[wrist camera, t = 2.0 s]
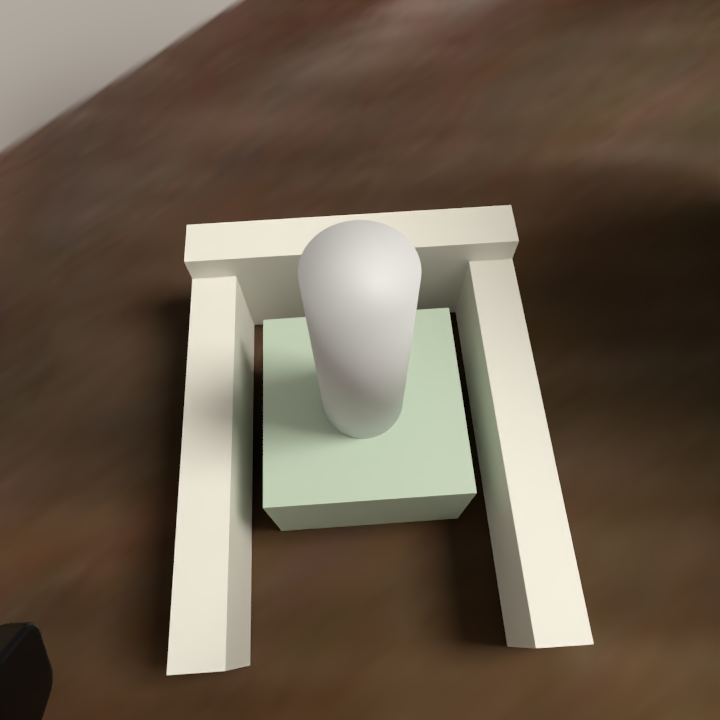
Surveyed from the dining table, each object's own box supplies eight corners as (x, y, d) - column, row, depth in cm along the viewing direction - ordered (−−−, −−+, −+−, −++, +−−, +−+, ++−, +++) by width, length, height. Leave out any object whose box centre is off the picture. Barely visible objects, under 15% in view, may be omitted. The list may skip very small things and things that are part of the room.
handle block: (457, 518, 20) (543, 403, 10) (281, 531, 20) (196, 426, 10) (436, 360, 23) (488, 144, 13) (280, 370, 23) (210, 161, 13)
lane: (555, 643, 18) (607, 644, 14) (201, 668, 18) (153, 677, 14) (487, 278, 24) (510, 205, 20) (217, 294, 24) (186, 224, 20)
